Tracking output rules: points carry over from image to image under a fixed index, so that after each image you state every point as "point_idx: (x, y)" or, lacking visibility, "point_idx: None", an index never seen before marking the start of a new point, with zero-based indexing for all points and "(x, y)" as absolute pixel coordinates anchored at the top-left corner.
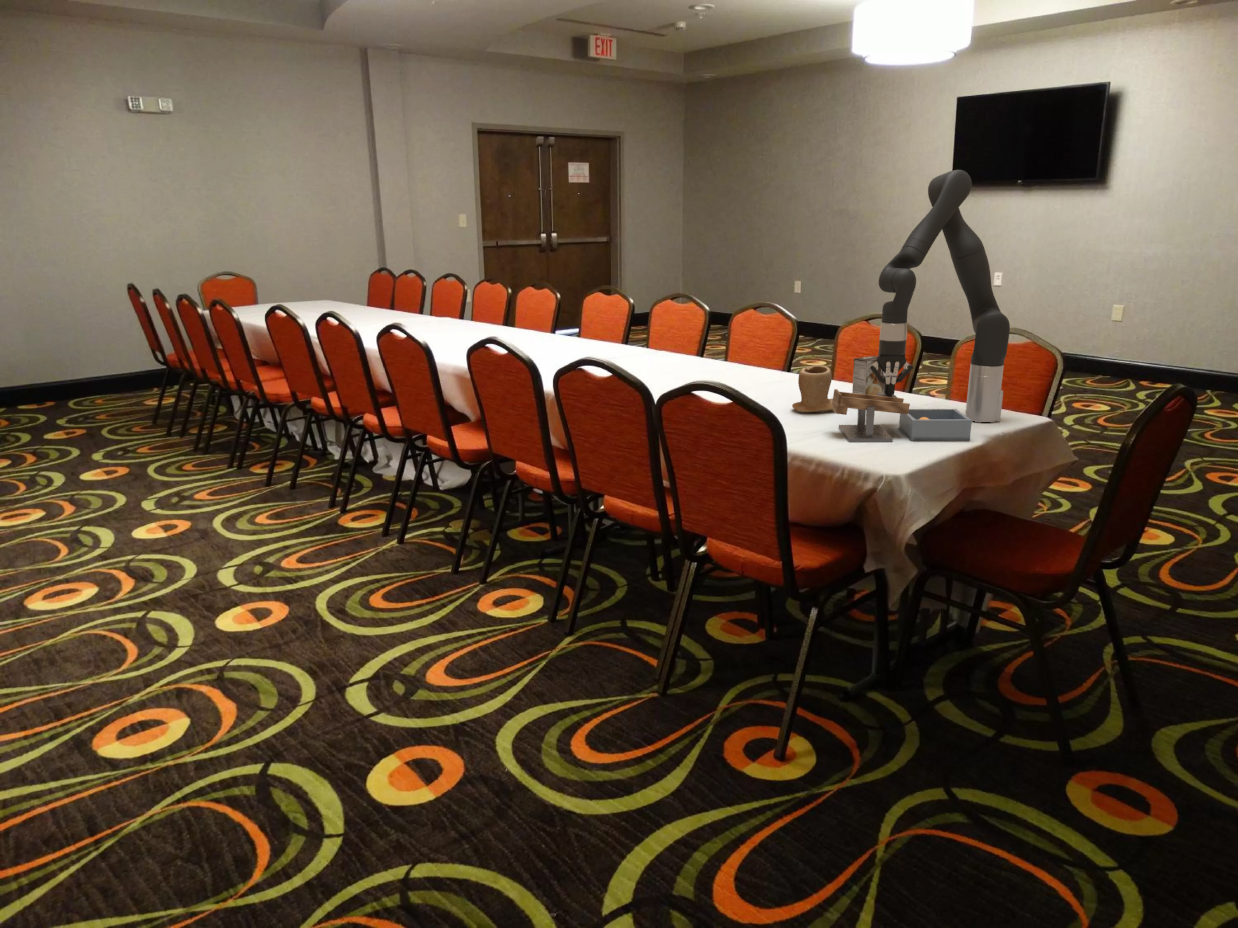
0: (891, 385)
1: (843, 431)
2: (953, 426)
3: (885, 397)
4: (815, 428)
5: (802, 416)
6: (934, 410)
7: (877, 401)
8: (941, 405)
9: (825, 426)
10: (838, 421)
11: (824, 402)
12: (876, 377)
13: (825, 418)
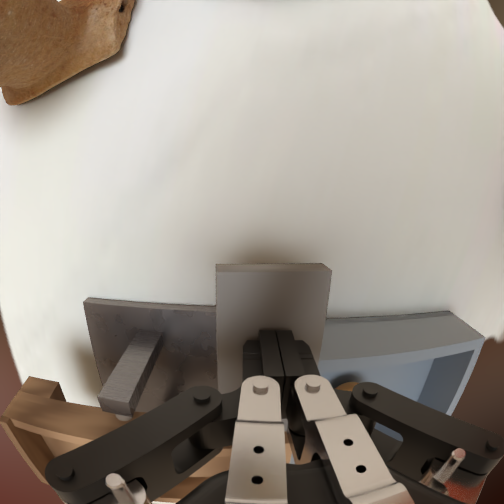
0: (285, 414)
1: (99, 374)
2: None
3: (217, 455)
4: (33, 292)
5: (14, 131)
6: (427, 358)
7: (170, 499)
8: (483, 34)
9: (54, 270)
10: (95, 196)
11: (56, 60)
12: (164, 403)
13: (63, 150)
